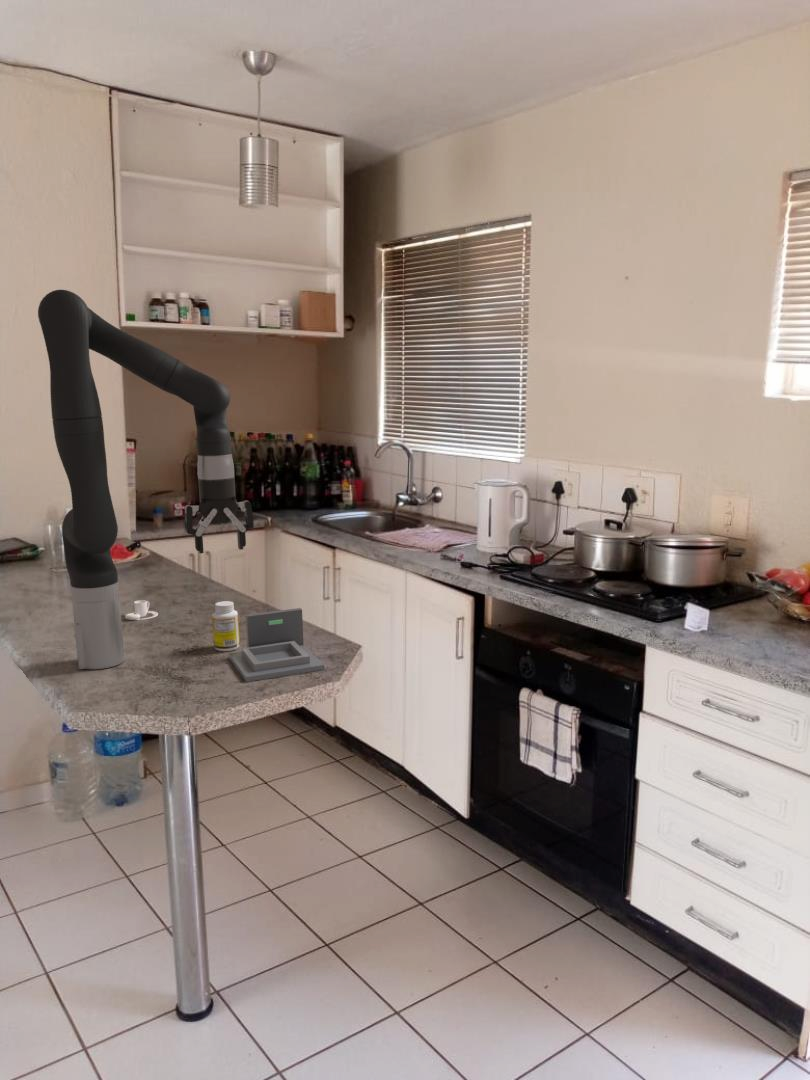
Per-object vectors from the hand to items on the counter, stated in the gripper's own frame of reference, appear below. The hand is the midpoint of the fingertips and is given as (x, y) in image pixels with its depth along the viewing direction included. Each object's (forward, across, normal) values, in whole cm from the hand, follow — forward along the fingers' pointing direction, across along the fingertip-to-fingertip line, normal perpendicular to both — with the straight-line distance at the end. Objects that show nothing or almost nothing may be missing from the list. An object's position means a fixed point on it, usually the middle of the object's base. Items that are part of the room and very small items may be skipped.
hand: (221, 550), depth 181 cm
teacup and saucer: (+23, -17, +37) cm, 47 cm away
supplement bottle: (+22, 0, 0) cm, 22 cm away
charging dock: (+22, +7, -15) cm, 27 cm away
